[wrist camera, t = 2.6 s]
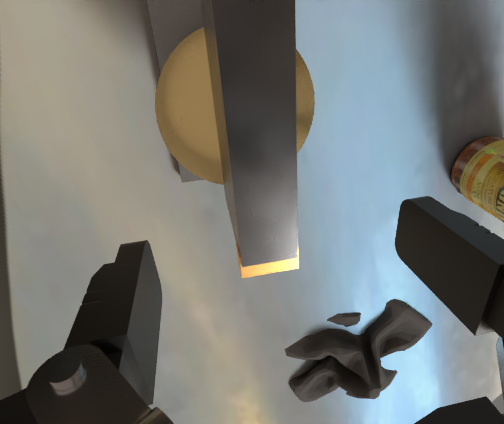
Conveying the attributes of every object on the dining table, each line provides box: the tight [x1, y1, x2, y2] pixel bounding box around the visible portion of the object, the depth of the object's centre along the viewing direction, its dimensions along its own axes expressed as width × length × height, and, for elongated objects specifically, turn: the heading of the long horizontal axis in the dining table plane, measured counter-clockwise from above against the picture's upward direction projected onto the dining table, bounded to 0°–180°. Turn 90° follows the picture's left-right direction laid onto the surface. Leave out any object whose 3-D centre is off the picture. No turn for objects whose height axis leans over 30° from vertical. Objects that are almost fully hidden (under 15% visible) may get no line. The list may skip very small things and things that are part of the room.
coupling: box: [155, 0, 314, 278], centre depth 15 cm, size 10×8×9 cm
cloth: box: [285, 299, 432, 402], centre depth 40 cm, size 22×19×6 cm
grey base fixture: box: [147, 0, 204, 182], centre depth 22 cm, size 14×8×7 cm, turn 4°
